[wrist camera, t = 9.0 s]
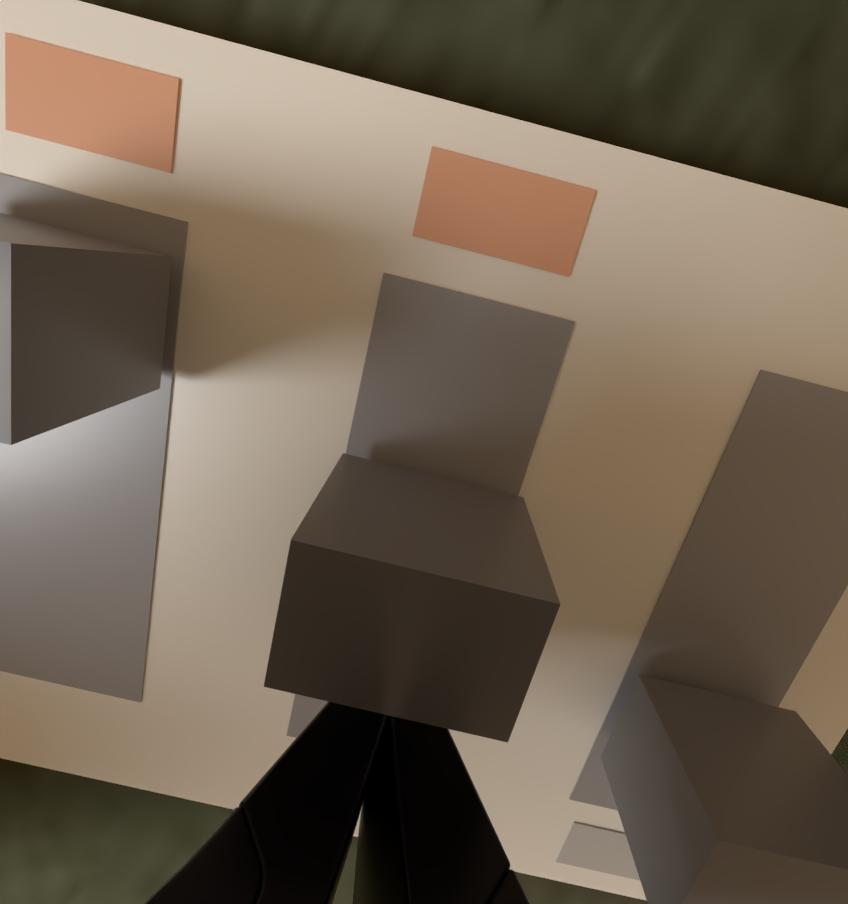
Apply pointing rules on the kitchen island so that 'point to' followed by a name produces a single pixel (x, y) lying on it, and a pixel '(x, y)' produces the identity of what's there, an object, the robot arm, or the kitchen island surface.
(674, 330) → the switch panel
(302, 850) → the robot arm
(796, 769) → the tab
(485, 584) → the tab
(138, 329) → the tab
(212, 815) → the kitchen island surface
